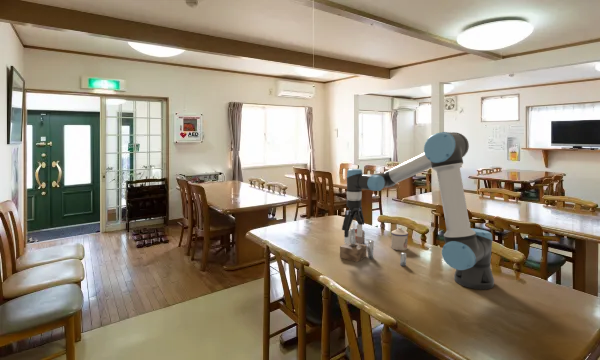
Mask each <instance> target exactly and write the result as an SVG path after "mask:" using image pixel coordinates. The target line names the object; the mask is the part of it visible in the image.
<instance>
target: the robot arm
mask: <svg viewBox="0 0 600 360" xmlns="http://www.w3.org/2000/svg"><path fill="white" fill-rule="evenodd" d="M469 148H470V145H469V141H468V139H467V137H466V136H465V135H463V134H462V133H459V132H451V131H450V132H448V131H442V132H437V133H433V134H432V135H430V136H429V137H428V138H427V139H426V141H425V143H424V146H423V153H421V154H419V155H417V156H415V157H413V158H411V159H408V160H407V161H404V162H402V163H401V164H399V165H395V166H394V167H392V168H390V169H387V170H386V171H384V172H380V173H372V174H371V173H363V170H362V169H360V168H349V169H347V172H346V192H345V193H346V207H347V208H348V210H345V211H344V213H345V214H344V218H343V223H342V227H341V230H342V231H344V234H343V235H344V239H343V242H344V243H343V244H346V243H348V244H350V229H351V226H352V223H353V221H354V219H355V220H356V222H357V224H356V229H357V236H358V237H362V230H363V225H365V218H364V213H363V207H362V198H363V197H362V196H363V195H362V194H363V192H362V190H368V191H372V192H376V191H377V192H380V191H382V190H383V189H384V188H391V187H393V186H395V185H396V184H397V183H400V182H402V181H404V180H407V179H408V178H409V179H410V178H411V177H413V176H416V175H419V174H420V173H423V172H424V171H427V170H429V169H432V170H433V171H434V172H436V175H437V183H438V187H439V192H440V198H441V199H440V200H441V205H442V211H443V214H444V221H445V222H444V223H445V227H446V231H445V233H443V238H444V239H443V240H444V244H443V246H442V248H441V256H442V259H443V261H444V262H445V263H446V264H447V265H448V266H449V267H450V268H452V269H454V270H455V271H454V273H453V275H454V277H453V278H454V279H453V280H454V281H455V283H457V284H459V285H460V286H463V287H465V288H469V289H474V290H490V289H493V288H494V286H495V279H494V275H493V272H492V268H491V263H492V262H491V260H492V251H493V250H492V249H493V248H492V247H493V240H494V239H493V234H492V233H491V231H488V230H485V229H479V228H471V224H470V223H471V222H470V218H469V213H468V206H467V201H466V196H465V195H466V194H465V190H464V184H463V183H464V182H463V178H462V172H461V167H462V166H463V164H464V160H463V159H464V157H465V156H466V155H467V153H468V151H469Z"/></svg>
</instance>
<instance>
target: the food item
mask: <svg viewBox="0 0 600 360" xmlns="http://www.w3.org/2000/svg"><path fill="white" fill-rule="evenodd" d="M354 229H355V243H359V244H364V243H365V242H366V241H365V238H366V237H365V234H366V233H365V231H364V230H363V229H362V237H358V236H357V228H354Z"/></svg>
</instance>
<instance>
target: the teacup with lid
mask: <svg viewBox="0 0 600 360" xmlns="http://www.w3.org/2000/svg"><path fill="white" fill-rule="evenodd" d="M390 233H391V243H390V244H391V245H390V247H391V249H393V250H395V251H406V250H407V249H408V237H409V232H408V231H407V230H404V229H402V227H397V229H394V230H392V231H391V232H390Z"/></svg>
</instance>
